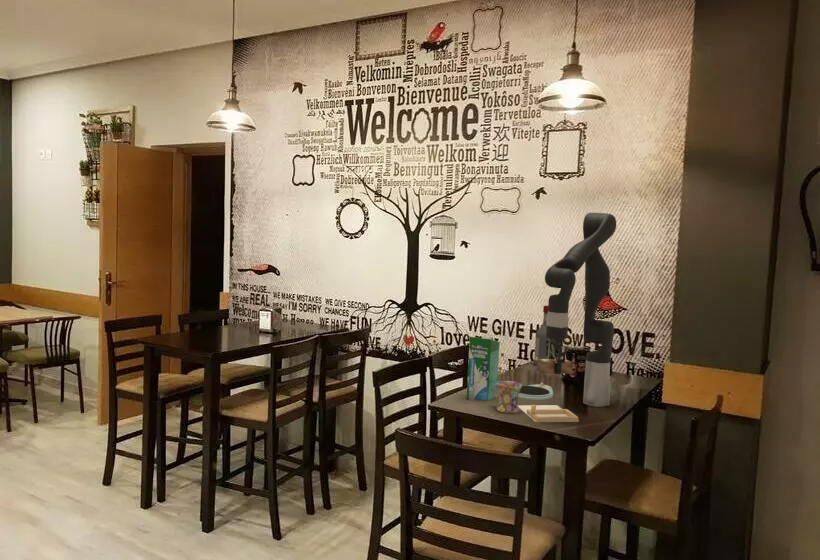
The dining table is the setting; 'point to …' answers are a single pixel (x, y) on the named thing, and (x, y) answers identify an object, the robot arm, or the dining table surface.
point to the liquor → (541, 339)
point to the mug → (508, 396)
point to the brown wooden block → (553, 366)
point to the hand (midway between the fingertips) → (554, 371)
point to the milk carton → (482, 368)
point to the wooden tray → (548, 413)
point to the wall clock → (536, 392)
